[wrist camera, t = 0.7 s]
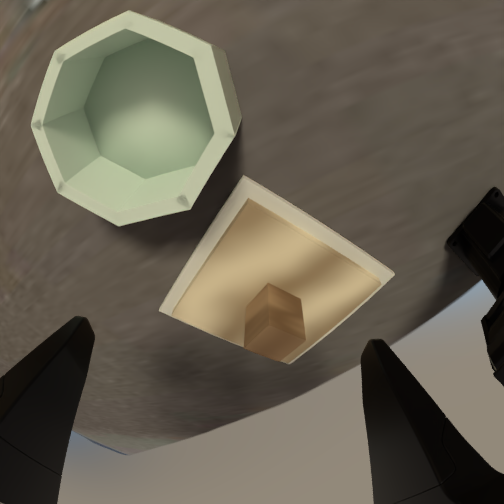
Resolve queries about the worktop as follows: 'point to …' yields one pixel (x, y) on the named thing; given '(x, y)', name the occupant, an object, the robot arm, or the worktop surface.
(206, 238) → the mat
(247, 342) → the lid
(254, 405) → the worktop surface
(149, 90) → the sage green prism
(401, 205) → the worktop surface
